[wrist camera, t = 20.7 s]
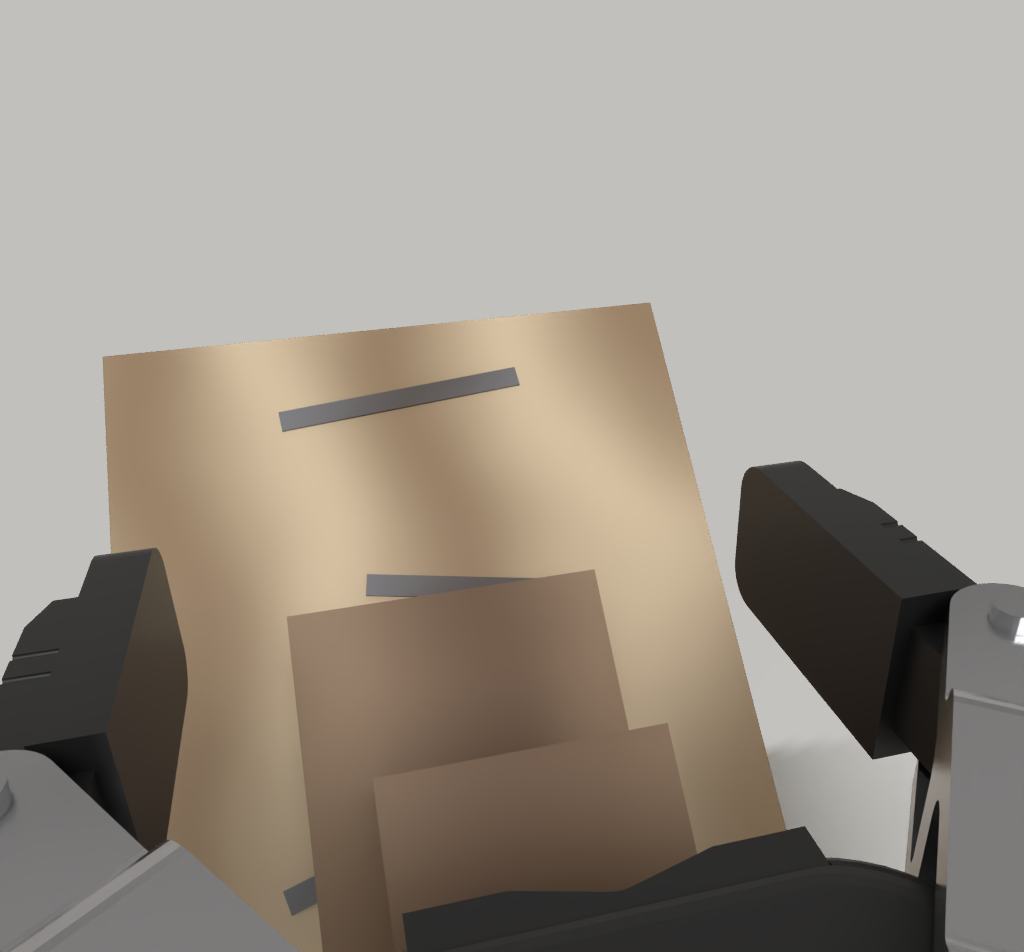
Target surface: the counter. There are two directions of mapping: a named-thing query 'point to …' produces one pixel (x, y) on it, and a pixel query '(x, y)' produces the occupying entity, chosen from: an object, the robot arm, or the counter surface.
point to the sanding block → (473, 756)
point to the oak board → (417, 545)
